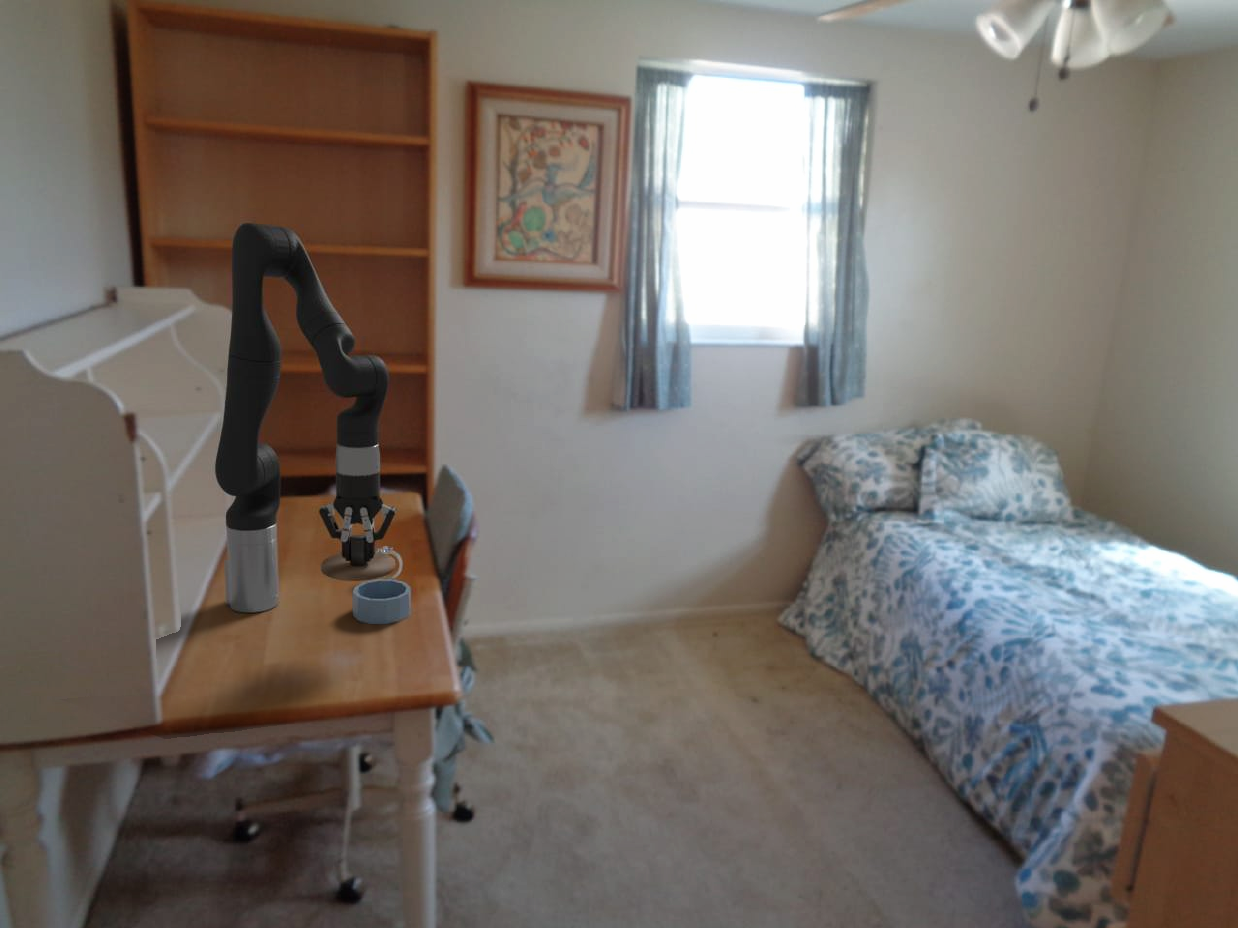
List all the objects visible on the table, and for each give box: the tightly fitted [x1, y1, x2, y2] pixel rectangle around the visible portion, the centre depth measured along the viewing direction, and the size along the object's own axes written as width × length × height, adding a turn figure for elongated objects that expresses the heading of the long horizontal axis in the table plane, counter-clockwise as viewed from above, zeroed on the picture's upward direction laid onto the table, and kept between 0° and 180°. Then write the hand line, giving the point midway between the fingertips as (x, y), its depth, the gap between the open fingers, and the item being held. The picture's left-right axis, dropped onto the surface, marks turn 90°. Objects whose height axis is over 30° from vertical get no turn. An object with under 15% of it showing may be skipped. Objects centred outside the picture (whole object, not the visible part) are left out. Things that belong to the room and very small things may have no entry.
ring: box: [375, 545, 404, 580], centre depth 190 cm, size 7×3×8 cm, turn 98°
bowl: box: [352, 578, 412, 625], centre depth 174 cm, size 11×11×5 cm
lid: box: [320, 534, 397, 582], centre depth 156 cm, size 13×13×6 cm
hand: (358, 559), depth 157 cm, fingers closed on lid, 3 cm apart
